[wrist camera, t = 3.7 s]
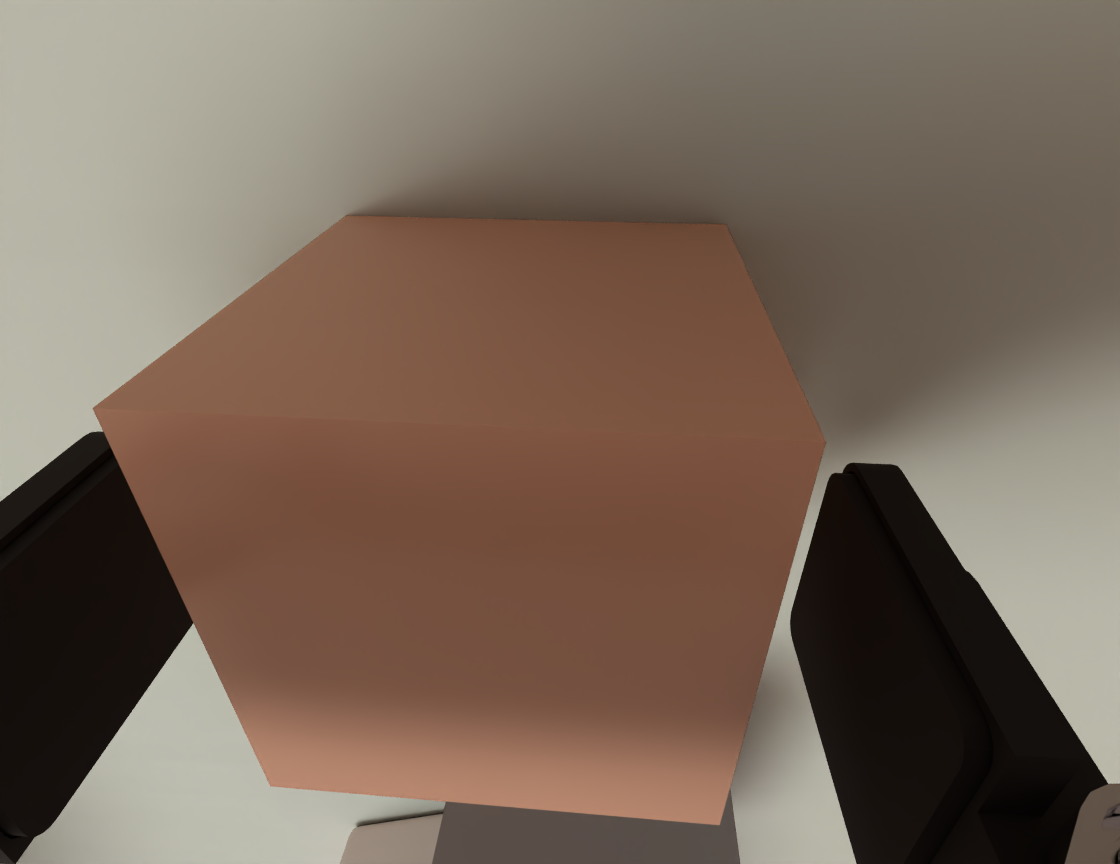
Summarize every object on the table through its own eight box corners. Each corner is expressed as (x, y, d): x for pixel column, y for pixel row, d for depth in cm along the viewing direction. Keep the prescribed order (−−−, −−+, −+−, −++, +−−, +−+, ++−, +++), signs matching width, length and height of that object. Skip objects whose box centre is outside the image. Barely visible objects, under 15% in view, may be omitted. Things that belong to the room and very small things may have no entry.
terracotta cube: (725, 223, 10) (825, 442, 5) (684, 517, 13) (719, 825, 8) (347, 214, 10) (92, 408, 5) (399, 501, 14) (270, 786, 9)
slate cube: (716, 684, 16) (756, 986, 11) (662, 803, 20) (674, 1076, 15) (480, 646, 16) (415, 932, 11) (467, 772, 20) (412, 1035, 15)
